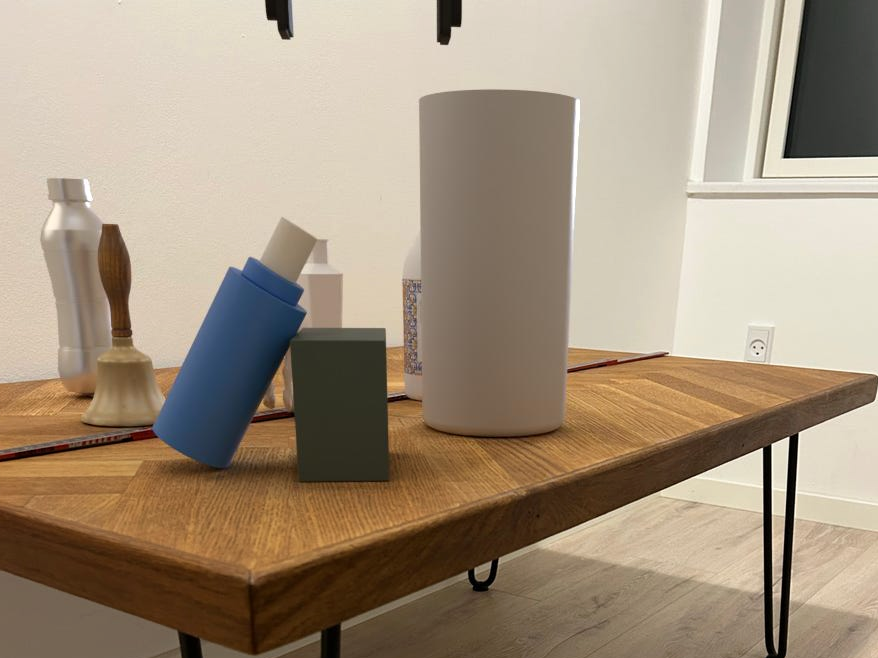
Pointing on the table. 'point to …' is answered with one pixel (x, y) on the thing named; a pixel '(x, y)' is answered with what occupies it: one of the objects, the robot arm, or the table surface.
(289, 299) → the blue bottle
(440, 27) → the robot arm
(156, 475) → the table surface
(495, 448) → the table surface
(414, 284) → the bath foam
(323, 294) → the perfume bottle
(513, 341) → the cylinder vase
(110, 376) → the hand bell
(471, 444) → the table surface
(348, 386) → the green block
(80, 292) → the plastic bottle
